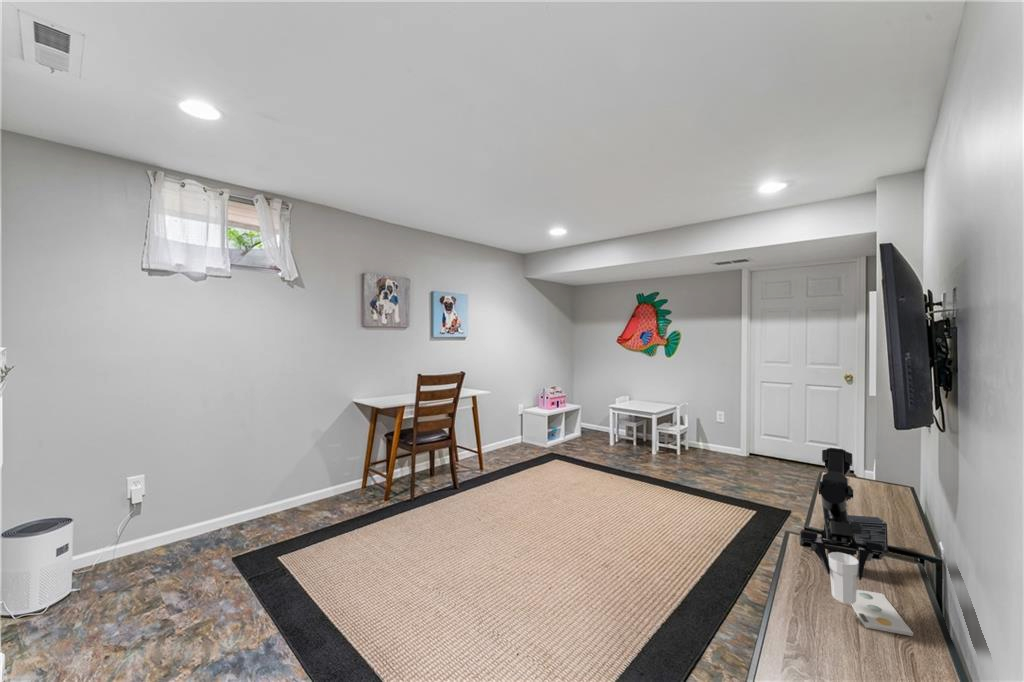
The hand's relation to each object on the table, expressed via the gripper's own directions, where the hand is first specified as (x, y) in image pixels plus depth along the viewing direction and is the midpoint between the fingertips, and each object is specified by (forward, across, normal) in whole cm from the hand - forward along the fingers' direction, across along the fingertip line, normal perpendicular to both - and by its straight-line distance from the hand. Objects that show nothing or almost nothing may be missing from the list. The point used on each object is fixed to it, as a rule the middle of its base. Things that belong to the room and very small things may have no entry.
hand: (844, 576), depth 115 cm
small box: (-28, +15, +47) cm, 56 cm away
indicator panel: (+2, +8, +15) cm, 17 cm away
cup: (+4, 0, +6) cm, 7 cm away
